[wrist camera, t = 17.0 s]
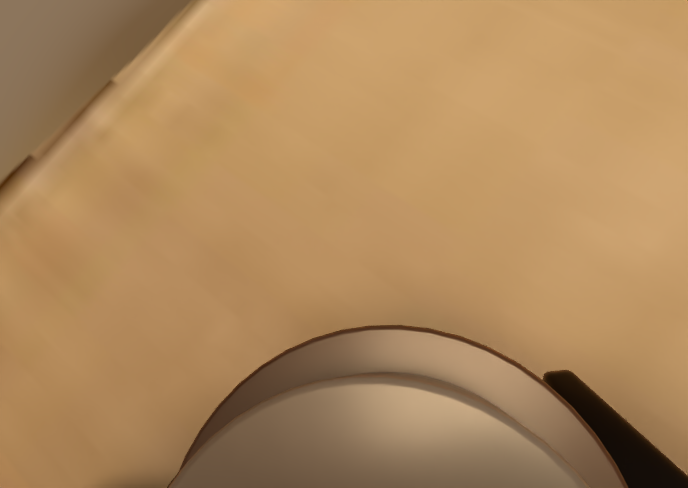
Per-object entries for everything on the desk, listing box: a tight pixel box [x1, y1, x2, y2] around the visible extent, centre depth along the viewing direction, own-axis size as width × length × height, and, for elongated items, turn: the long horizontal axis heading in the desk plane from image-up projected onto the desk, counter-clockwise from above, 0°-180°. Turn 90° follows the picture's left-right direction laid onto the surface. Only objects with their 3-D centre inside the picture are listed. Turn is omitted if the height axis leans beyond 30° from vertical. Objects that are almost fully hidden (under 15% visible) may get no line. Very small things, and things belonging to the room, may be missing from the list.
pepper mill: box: [168, 325, 628, 488], centre depth 9 cm, size 5×5×13 cm
